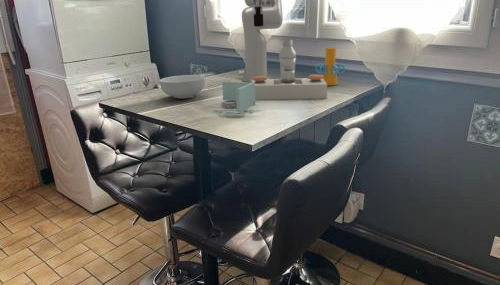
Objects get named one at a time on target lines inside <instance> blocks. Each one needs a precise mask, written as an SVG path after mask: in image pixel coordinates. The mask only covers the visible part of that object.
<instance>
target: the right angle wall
mask: <svg viewBox="0 0 500 285" xmlns="http://www.w3.org/2000/svg"><path fill="white" fill-rule="evenodd" d="M221 82H222V83H221V85H222V99H223V100H222V101H221V102H220V104H221V105H220V107H221V108H222V109H225V110H222V109H221V110H219V109H218V110H217V109H216V110H214V109H213V110H212V112H213V111H214V112H223V113H236V114H240V113H242V112H245V111H246V110H248V109H249V108H251V107H253V106H256V100H255V83H251V82H245V81H243V82H242V81H221Z"/></svg>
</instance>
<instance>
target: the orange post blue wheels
mask: <svg viewBox="0 0 500 285" xmlns="http://www.w3.org/2000/svg"><path fill="white" fill-rule="evenodd" d="M336 53H337V50H336V47H326V48H325V61H324V62H325V63H324V64H323V63H318V64H316V66H315V68H314V70H315V72H316V73H317V74H318V75H323V80H324V81H325V82H326V83H327V87H330V86H332V87H333V86H336V85H338V75H343V74H344V73H345V71H346V66H345V65H344V64H343V63H338V62H336ZM341 67H342V71H340V70H341ZM318 68H319V69H318ZM322 68H323V70H322Z"/></svg>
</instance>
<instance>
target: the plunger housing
mask: <svg viewBox="0 0 500 285" xmlns="http://www.w3.org/2000/svg"><path fill="white" fill-rule="evenodd" d="M295 82H296V84H280V78H270V79H267V80H265V83H255V81H254V80H252V82H250V83H255V101H256V100H259V101H261V100H304V99H306V100H310V99H311V100H312V99H313V100H314V99H317V100H318V99H327V97H328V96H327V95H328V86H327V83H326V82H325V81H324V80H323V79H320V82H311V79H309V77H304V78H300V77H299V78H295Z"/></svg>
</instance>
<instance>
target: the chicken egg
mask: <svg viewBox="0 0 500 285" xmlns="http://www.w3.org/2000/svg"><path fill="white" fill-rule="evenodd" d="M267 76H268V75H267ZM267 76H254V77H253V80H254V81H255V83H265V80H267Z"/></svg>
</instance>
